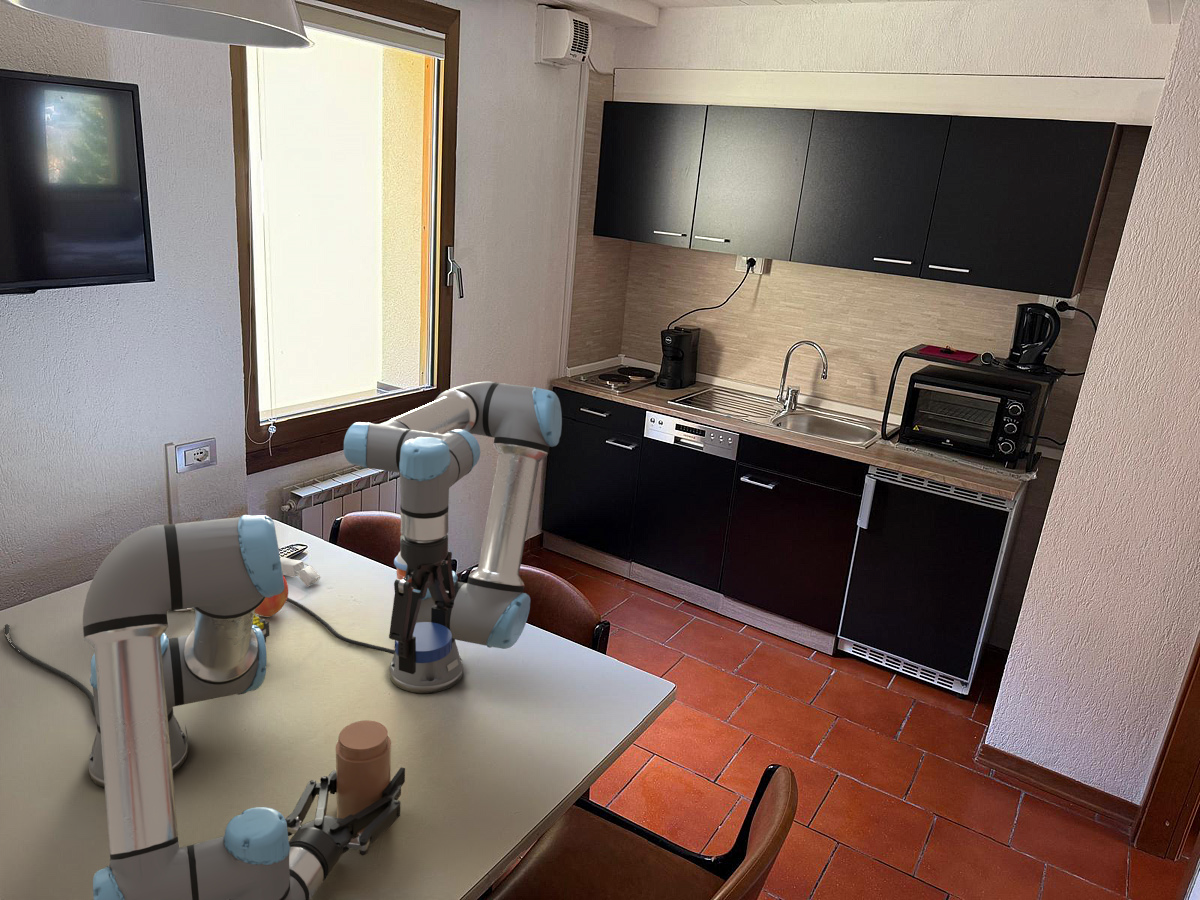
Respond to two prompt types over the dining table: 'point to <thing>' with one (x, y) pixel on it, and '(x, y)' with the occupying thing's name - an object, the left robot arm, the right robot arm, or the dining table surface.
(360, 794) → the jar
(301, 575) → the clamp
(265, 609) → the apple
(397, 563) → the cup with straw
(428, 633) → the lid
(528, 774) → the dining table surface
